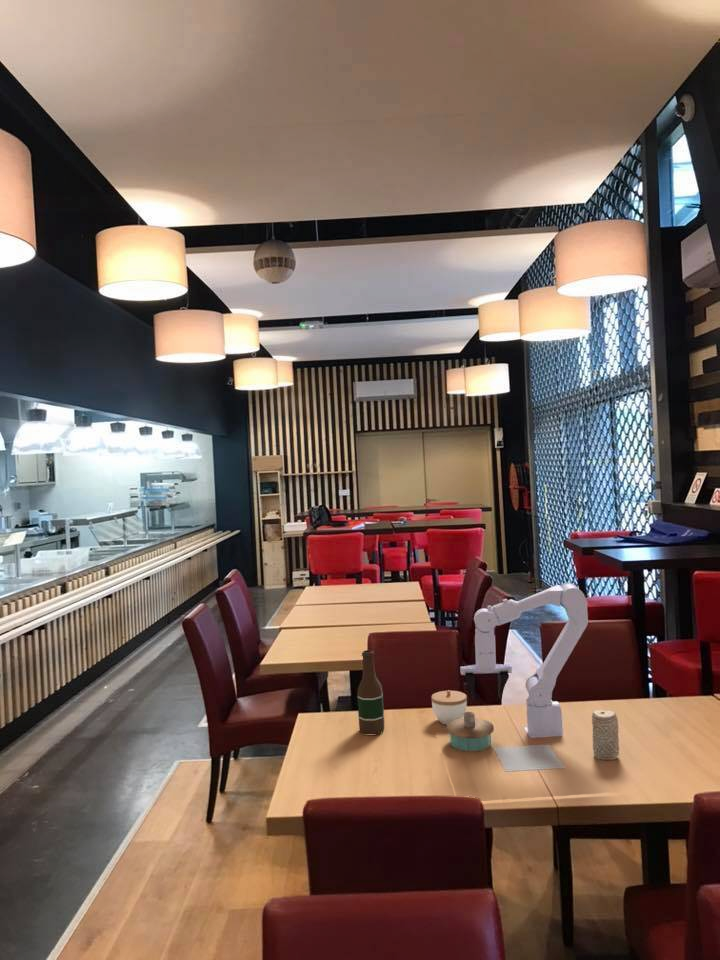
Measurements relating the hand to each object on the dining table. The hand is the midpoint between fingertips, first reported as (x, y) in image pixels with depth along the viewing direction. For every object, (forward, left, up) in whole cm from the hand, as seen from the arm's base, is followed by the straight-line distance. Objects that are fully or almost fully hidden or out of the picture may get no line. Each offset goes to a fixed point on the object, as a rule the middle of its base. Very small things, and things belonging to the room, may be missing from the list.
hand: (486, 698), depth 205 cm
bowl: (+6, +7, -10) cm, 14 cm away
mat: (-7, +19, -10) cm, 23 cm away
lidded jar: (+9, -12, -11) cm, 19 cm away
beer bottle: (+33, -8, -11) cm, 36 cm away
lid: (+6, +7, -6) cm, 11 cm away
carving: (-27, +21, -11) cm, 36 cm away
